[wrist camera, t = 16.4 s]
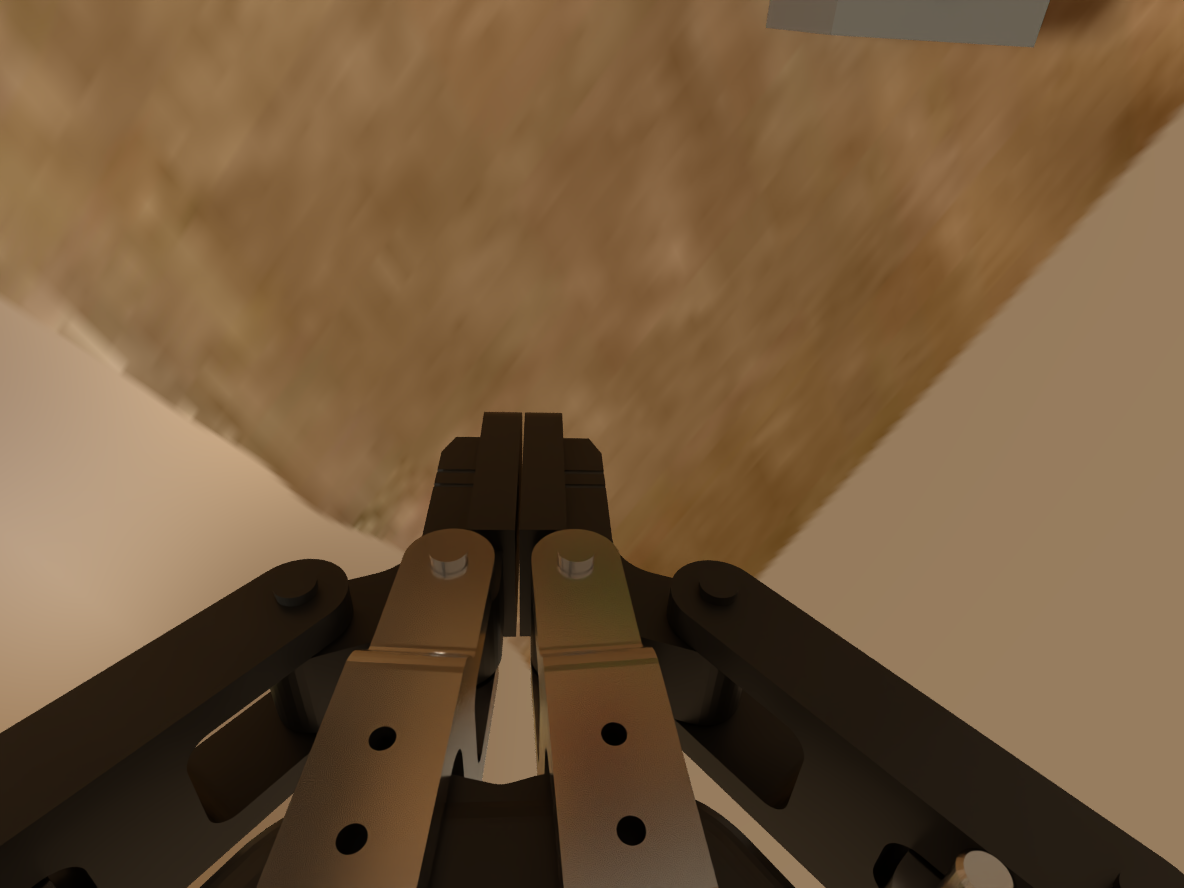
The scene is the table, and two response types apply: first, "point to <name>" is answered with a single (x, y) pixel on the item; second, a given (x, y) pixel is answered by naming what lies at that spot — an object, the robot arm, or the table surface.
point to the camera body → (915, 19)
